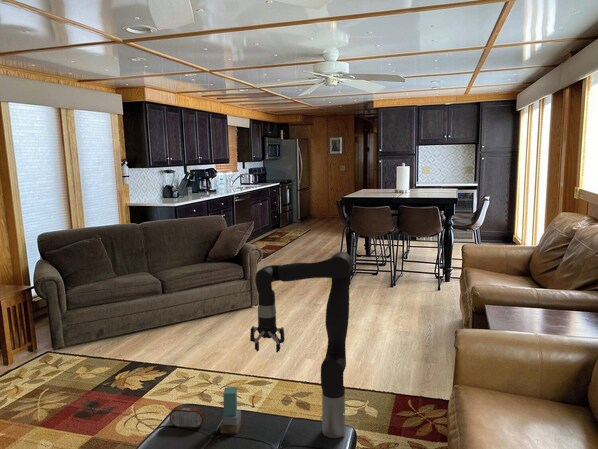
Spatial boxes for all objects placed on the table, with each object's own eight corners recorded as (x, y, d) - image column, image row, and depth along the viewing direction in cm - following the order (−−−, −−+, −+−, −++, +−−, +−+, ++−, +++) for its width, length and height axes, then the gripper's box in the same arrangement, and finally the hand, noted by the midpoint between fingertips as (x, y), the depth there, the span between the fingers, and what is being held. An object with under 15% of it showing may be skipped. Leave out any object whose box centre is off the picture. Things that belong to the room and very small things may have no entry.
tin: (205, 425, 195) (205, 406, 194) (203, 429, 192) (202, 410, 191) (171, 423, 197) (170, 405, 196) (169, 427, 194) (168, 409, 193)
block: (237, 409, 195) (236, 387, 193) (236, 415, 190) (235, 393, 189) (225, 409, 195) (224, 387, 193) (223, 416, 190) (223, 393, 188)
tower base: (241, 424, 196) (240, 417, 195) (237, 434, 189) (236, 426, 188) (225, 423, 197) (224, 416, 196) (220, 433, 190) (220, 425, 189)
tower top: (241, 418, 195) (240, 410, 194) (236, 425, 189) (236, 417, 188) (227, 416, 196) (227, 409, 195) (222, 424, 190) (222, 416, 189)
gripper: (248, 316, 188) (249, 354, 190) (282, 317, 186) (282, 355, 188) (252, 310, 195) (253, 347, 197) (285, 311, 193) (285, 348, 195)
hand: (267, 351), depth 193 cm, fingers open, 8 cm apart
